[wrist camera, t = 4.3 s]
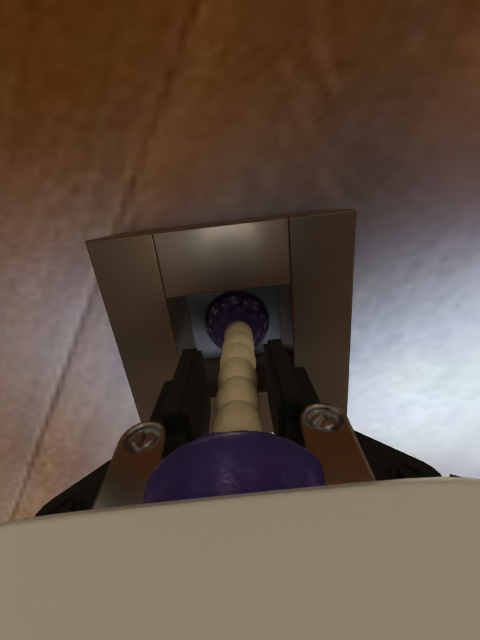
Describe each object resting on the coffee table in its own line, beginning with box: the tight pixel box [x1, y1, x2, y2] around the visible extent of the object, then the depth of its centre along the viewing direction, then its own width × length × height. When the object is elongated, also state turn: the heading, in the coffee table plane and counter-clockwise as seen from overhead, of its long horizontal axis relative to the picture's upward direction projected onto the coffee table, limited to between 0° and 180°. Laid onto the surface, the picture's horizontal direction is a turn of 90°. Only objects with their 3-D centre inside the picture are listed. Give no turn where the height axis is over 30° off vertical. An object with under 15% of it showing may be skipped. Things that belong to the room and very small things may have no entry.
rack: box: [85, 209, 356, 434], centre depth 18 cm, size 12×21×4 cm, turn 6°
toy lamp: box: [144, 291, 325, 504], centre depth 11 cm, size 5×5×17 cm
